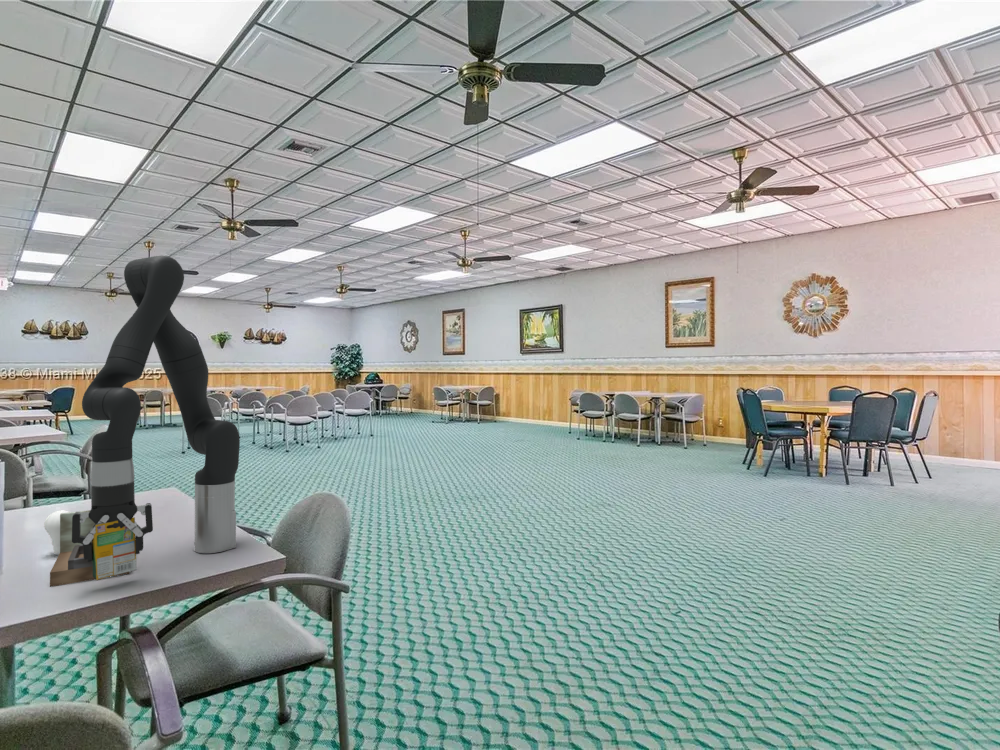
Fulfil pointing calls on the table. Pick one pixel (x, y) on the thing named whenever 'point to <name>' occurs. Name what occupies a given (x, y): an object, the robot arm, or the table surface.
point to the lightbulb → (54, 529)
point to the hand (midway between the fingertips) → (114, 556)
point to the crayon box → (113, 550)
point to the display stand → (72, 554)
